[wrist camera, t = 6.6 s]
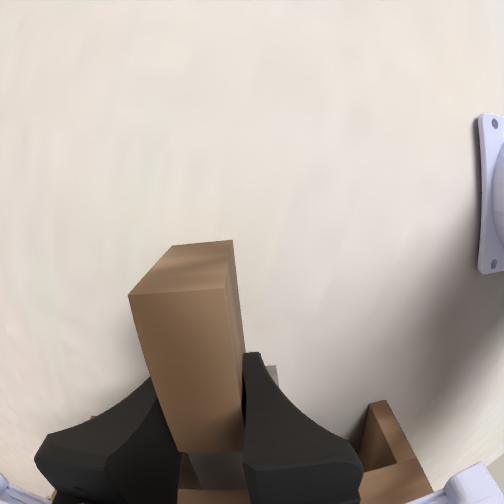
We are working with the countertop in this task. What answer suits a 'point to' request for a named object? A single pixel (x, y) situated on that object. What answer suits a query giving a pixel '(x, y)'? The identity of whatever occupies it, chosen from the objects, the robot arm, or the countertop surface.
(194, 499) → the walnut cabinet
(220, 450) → the putty knife
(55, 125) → the countertop surface
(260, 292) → the countertop surface
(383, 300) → the countertop surface
